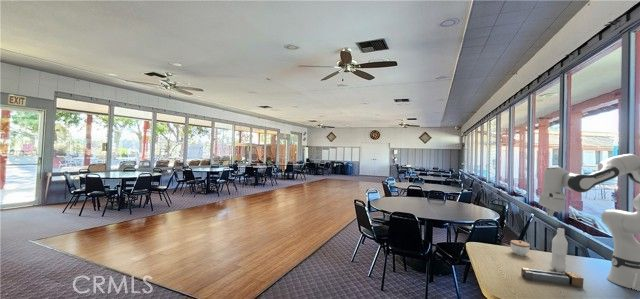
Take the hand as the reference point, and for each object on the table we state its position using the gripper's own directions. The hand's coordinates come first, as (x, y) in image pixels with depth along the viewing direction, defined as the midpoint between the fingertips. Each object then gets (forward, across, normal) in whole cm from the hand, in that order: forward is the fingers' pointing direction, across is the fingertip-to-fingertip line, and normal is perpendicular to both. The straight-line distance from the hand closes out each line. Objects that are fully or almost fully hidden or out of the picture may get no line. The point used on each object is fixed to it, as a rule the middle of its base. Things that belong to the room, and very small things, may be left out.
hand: (550, 216), depth 172 cm
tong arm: (+31, +19, -10) cm, 38 cm away
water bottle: (+31, +4, +4) cm, 32 cm away
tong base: (+31, +20, -8) cm, 38 cm away
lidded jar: (+31, -18, -7) cm, 37 cm away
